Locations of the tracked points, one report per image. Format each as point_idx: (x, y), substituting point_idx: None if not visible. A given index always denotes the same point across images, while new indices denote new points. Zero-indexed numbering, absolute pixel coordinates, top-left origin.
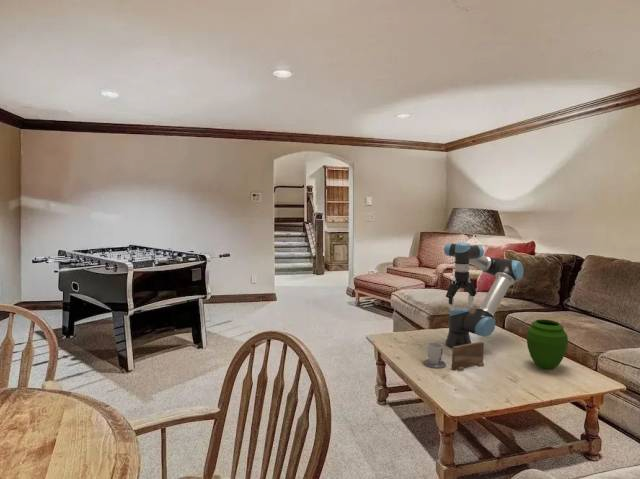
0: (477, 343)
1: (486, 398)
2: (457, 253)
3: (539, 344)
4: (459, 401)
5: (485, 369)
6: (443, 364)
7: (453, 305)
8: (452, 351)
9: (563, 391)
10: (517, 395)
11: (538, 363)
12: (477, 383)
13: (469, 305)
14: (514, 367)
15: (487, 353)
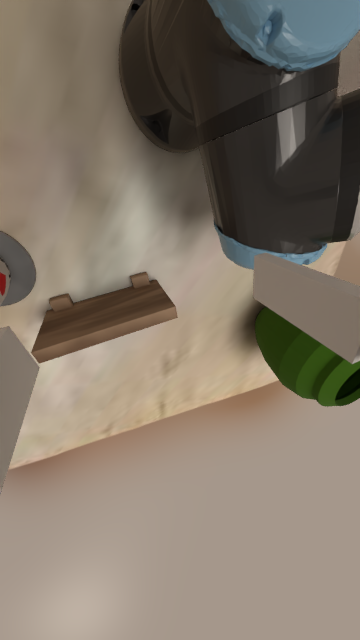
0: (151, 324)
1: (73, 428)
2: None
3: (276, 374)
4: None
5: None
6: (22, 286)
7: (16, 415)
8: (35, 342)
9: (213, 395)
10: (136, 413)
11: (255, 332)
12: (84, 382)
13: (262, 279)
14: (214, 314)
15: None
